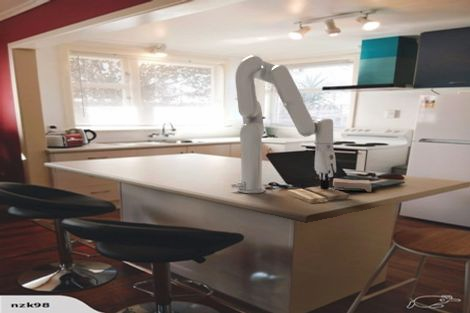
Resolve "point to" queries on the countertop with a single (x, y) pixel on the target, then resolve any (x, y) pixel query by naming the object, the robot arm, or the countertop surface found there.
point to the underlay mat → (336, 200)
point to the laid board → (306, 196)
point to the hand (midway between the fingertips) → (324, 188)
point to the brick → (353, 184)
